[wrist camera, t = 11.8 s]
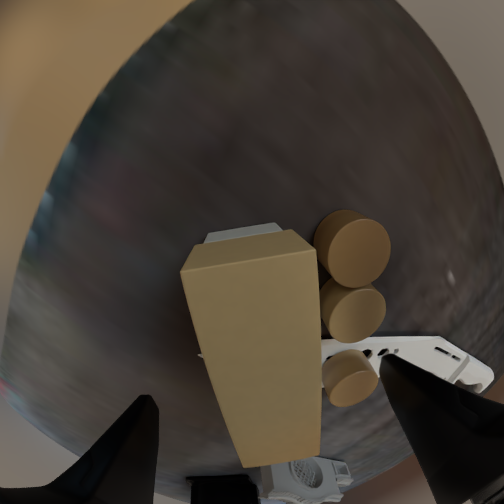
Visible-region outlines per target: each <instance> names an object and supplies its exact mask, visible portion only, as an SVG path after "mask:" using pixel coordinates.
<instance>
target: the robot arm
mask: <svg viewBox="0 0 504 504" xmlns="http://www.w3.org/2000/svg"><path fill="white" fill-rule="evenodd" d="M379 375H380V378H381V381H382V383H383V386H384V388H385V391H386V394H387V396H388V399H389V402H390V404H391V406H392V409H393V411H394V413H395V414H396V416H397V418H398V420H399V422H400V424H401V426H402V428H403V430H404V432H405V434H406V436H407V439H408V441H409V443H410V445H411V447H412V449H413V451H414V453H415V455H416V457H417V459H418V462H419V464H420V466H421V468H422V470H423V473H424V475H425V477H426V479H427V482H428V484H429V486H430V489H431V491H432V493H433V496H434V498H435V501H436V503H437V504H462V503H464V502H466V501H467V500H469V499H470V501H471V503H472V504H504V404H501V403H498V402H495V401H492V400H489V399H486V398H483V397H481V396H478V395H475V394H473V393H471V392H469V391H466V390H464V389H462V388H460V387H458V386H456V385H454V384H452V383H450V382H448V381H446V380H444V379H442V378H440V377H438V376H436V375H434V374H432V373H430V372H428V371H426V370H424V369H422V368H420V367H418V366H416V365H414V364H412V363H410V362H408V361H406V360H404V359H402V358H400V357H399V356H397V355H395V354H392V353H390V354H387V355H384V356H382V358H381V363H380V367H379ZM158 446H159V409H158V406H157V405H156V403H155V401H154V400H153V398H152V396H151V395H140V396H139V397H138V398H137V399H136V400H135V401H134V402H133V403H132V404H131V405H130V406H129V407H128V408H127V409H126V410H125V412H124V413H123V414H122V415H121V416H120V417H119V418H118V419H117V420H116V421H115V422H114V423H113V424H112V425H111V427H110V428H109V429H108V430H107V431H106V432H105V433H104V434H103V435H102V436H101V437H100V438H99V439H98V440H97V441H96V442H95V443H94V444H93V446H92V447H91V448H90V449H89V450H88V451H87V452H86V453H85V454H84V455H83V456H82V457H81V458H80V459H79V460H78V461H77V462H76V463H74V464H73V465H72V466H71V467H70V468H69V469H67V470H66V471H65V472H64V473H62V474H61V475H60V476H59V477H57V478H56V479H55V480H54V481H52V482H51V483H49V484H47V485H45V486H41V487H30V488H29V487H28V488H1V487H0V504H153V496H154V484H155V473H156V464H157V455H158ZM186 482H187V483H188V484H189V485H190V486H191V504H261V502H260V498H258V497H259V489H258V487H257V485H255V484H253V483H252V481H251V479H250V477H249V476H247V475H240V476H226V477H187V478H186Z"/></svg>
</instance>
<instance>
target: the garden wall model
mask: <svg viewBox="0 0 504 504" xmlns="http://www.w3.org/2000/svg"><path fill="white" fill-rule="evenodd" d="M294 462H295V463H294ZM293 464H294V466H293ZM297 464H298V465H299V466H298V465H297ZM295 467H298V469H297V468H295ZM300 467H301V468H302V469H301V468H300ZM260 469H261V477H262V485H263V493H261V494H259V497H258V498H265V499H276V500H280V501H283V502H286V504H320V503H322V502H324V501H326V502H339V501H341V499H340V498H342V497H343V494H340V491H339V488H338V486H340V487H344V486H347V485H350V483H351V482H352V481H353V479H352V478H350V476H351V475H350V473H349V470H348V467H347V464H345V462H341V461H335V460H330V459H325V458H320V457H315V456H313V457H309V458H304V459H300V460H295V461H290V462H284V463H278V464H272V465H265V466H260ZM294 469H295V470H297V472H296V471H295V470H294ZM299 469H300V470H301V471H302V472H300V471H299ZM298 472H299V473H300V474H301V475H299V474H298ZM295 473H296V474H295ZM303 473H304V474H305V475H304V474H303ZM297 475H298V476H299V477H300V478H299V477H298V476H297ZM306 475H307V477H306ZM302 476H303V477H304V478H303V477H302ZM305 478H306V479H307V481H306V480H305ZM301 479H303V481H302V480H301ZM304 481H305V482H306V483H305V482H304ZM303 483H304V484H305V485H304V484H303ZM307 484H309V486H308V485H307Z"/></svg>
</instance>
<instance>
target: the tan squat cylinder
mask: <svg viewBox="0 0 504 504" xmlns="http://www.w3.org/2000/svg"><path fill="white" fill-rule="evenodd" d="M322 383H323V386H324V388H325V391H326V393H327V396H328V399H329V401H330V403H332V404H333V405H335V406H338V407H346V406H351V405H354V404H357V403H359V402H361V401H362V400H364V399H365V398H367V397H368V396H369V395H370V394H371V393H372V392H373V391H374V390H375V388H376V386H377V384H378V375H377V373H376V372H375V370H374V369H373V367H372V365H371V364H370V362H369V361H368V359H367V357H366V356H365V354H364V353H363V352H361V351H359V350H355V349H350V350H345V351H342V352H339V353H337V354H335V355H334V356H332V357H331V358H330V359H328V360H327V361H326V362H325V364H324V365H323V367H322Z"/></svg>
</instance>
